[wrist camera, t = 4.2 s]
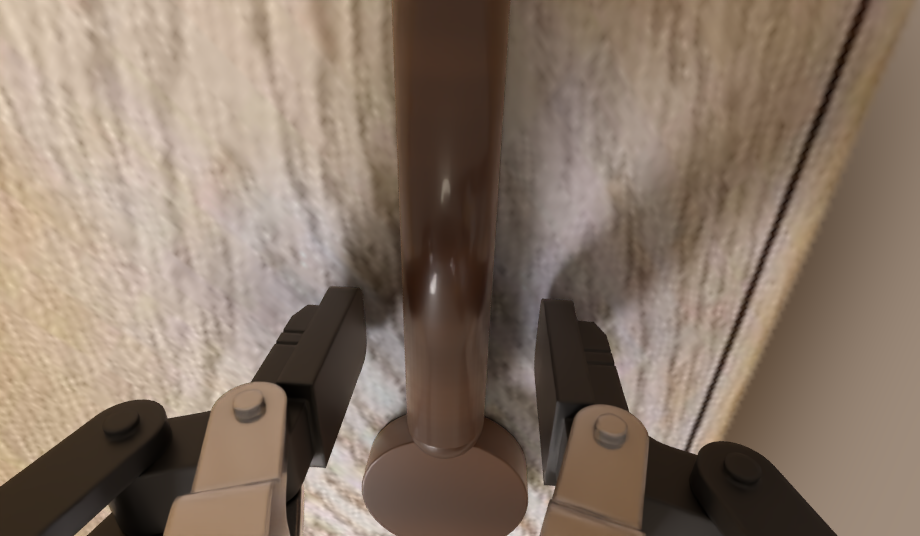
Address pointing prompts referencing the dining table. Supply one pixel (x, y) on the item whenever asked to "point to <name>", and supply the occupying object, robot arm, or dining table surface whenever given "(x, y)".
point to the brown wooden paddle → (447, 278)
